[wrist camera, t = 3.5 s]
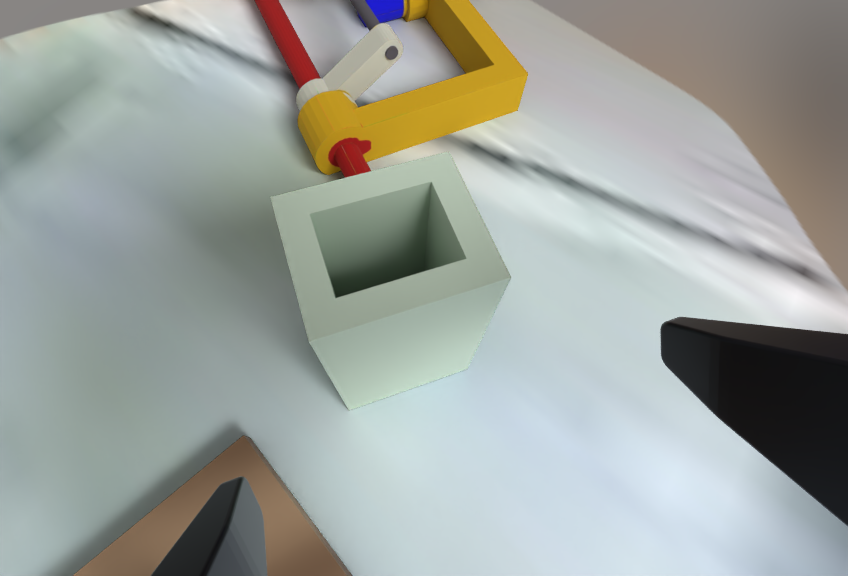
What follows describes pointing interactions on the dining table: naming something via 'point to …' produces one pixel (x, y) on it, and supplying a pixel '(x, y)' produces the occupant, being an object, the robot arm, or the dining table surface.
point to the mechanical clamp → (406, 113)
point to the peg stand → (160, 529)
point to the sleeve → (391, 275)
